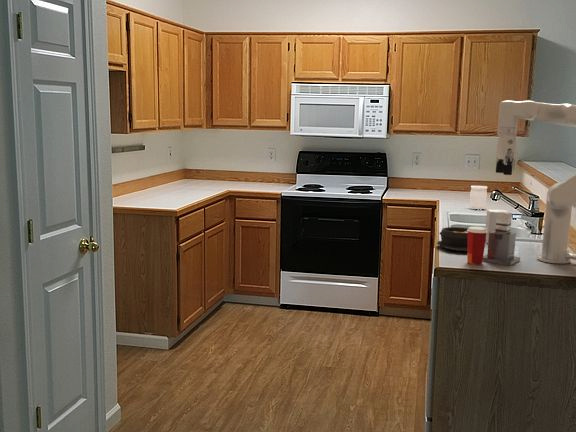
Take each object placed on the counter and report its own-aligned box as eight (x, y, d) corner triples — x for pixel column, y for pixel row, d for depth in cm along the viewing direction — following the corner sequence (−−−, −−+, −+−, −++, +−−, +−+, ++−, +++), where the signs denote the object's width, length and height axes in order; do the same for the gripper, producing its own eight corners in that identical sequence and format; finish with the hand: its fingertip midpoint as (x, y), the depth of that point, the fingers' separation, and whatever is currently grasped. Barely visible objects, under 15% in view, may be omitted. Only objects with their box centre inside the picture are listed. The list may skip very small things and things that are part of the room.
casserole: (482, 256, 260) (484, 236, 259) (436, 252, 264) (437, 233, 263) (479, 245, 284) (480, 226, 283) (436, 242, 288) (438, 223, 287)
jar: (475, 207, 412) (476, 185, 409) (489, 209, 404) (490, 186, 401) (465, 208, 405) (467, 185, 403) (479, 210, 397) (481, 187, 395)
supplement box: (507, 245, 286) (510, 212, 283) (487, 244, 287) (489, 211, 285) (503, 241, 294) (506, 210, 292) (484, 240, 296) (486, 208, 294)
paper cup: (488, 263, 247) (491, 228, 244) (479, 266, 241) (482, 230, 239) (469, 260, 252) (472, 225, 250) (460, 262, 246) (463, 227, 244)
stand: (520, 261, 253) (522, 232, 251) (510, 265, 243) (513, 236, 242) (490, 256, 260) (493, 228, 258) (480, 260, 251) (482, 232, 249)
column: (508, 257, 252) (511, 212, 249) (504, 258, 248) (508, 213, 246) (496, 255, 255) (500, 211, 252) (493, 257, 251) (496, 212, 248)
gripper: (523, 132, 247) (520, 175, 249) (509, 131, 264) (505, 172, 266) (504, 131, 247) (501, 175, 249) (491, 131, 264) (487, 171, 266)
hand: (503, 173), depth 258 cm, fingers open, 9 cm apart
